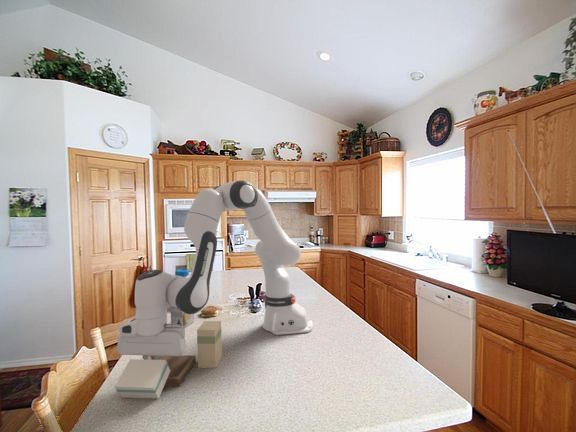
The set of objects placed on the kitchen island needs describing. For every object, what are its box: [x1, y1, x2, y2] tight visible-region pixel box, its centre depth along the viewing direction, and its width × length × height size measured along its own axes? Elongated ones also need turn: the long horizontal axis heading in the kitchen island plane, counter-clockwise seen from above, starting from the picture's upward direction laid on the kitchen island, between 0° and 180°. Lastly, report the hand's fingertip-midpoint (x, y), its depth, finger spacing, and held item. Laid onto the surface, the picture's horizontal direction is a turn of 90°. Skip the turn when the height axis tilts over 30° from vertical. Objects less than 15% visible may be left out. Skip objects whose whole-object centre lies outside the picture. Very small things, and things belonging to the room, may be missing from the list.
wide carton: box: [114, 358, 170, 399], centre depth 82 cm, size 11×8×6 cm
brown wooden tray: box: [150, 354, 197, 387], centre depth 91 cm, size 16×13×2 cm
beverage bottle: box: [174, 268, 190, 279], centre depth 152 cm, size 8×8×20 cm
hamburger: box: [200, 305, 223, 318], centre depth 142 cm, size 14×14×6 cm
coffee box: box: [169, 306, 195, 330], centre depth 128 cm, size 9×6×16 cm
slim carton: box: [196, 320, 223, 369], centre depth 97 cm, size 6×7×13 cm
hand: (152, 367), depth 87 cm, fingers closed, pressing on wide carton
